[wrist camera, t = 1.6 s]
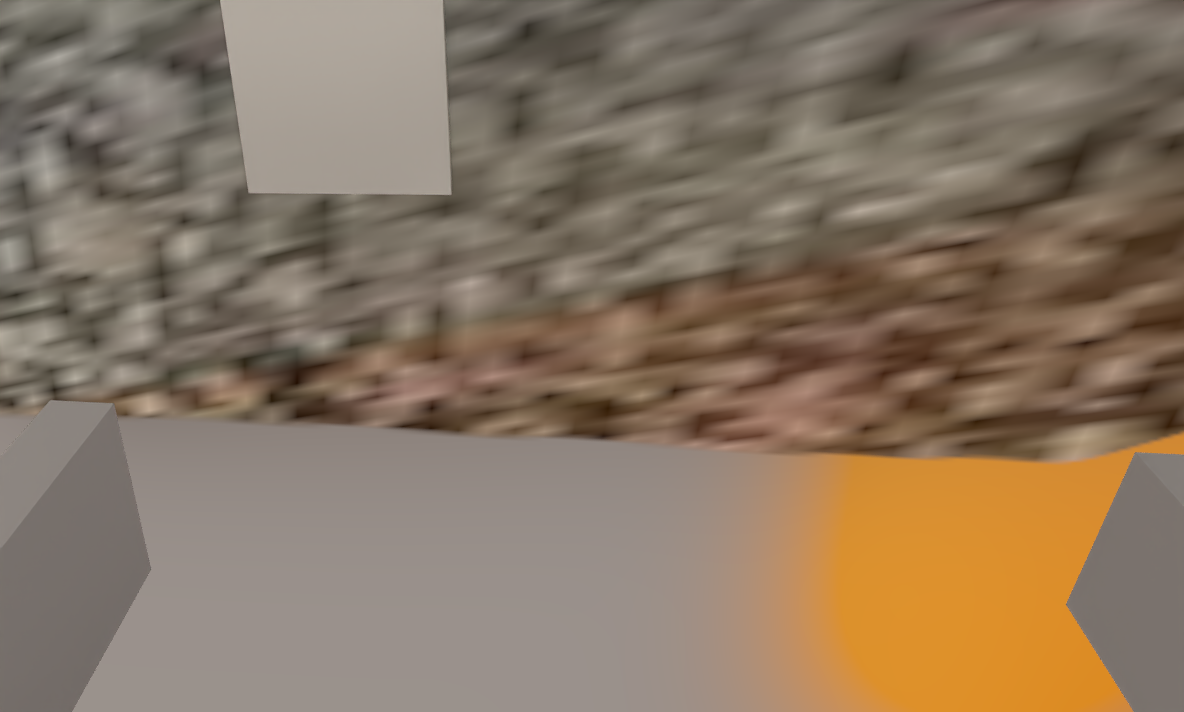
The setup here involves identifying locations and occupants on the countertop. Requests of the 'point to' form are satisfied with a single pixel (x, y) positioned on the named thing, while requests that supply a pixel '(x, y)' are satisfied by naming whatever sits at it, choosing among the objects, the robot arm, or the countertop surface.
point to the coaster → (341, 95)
